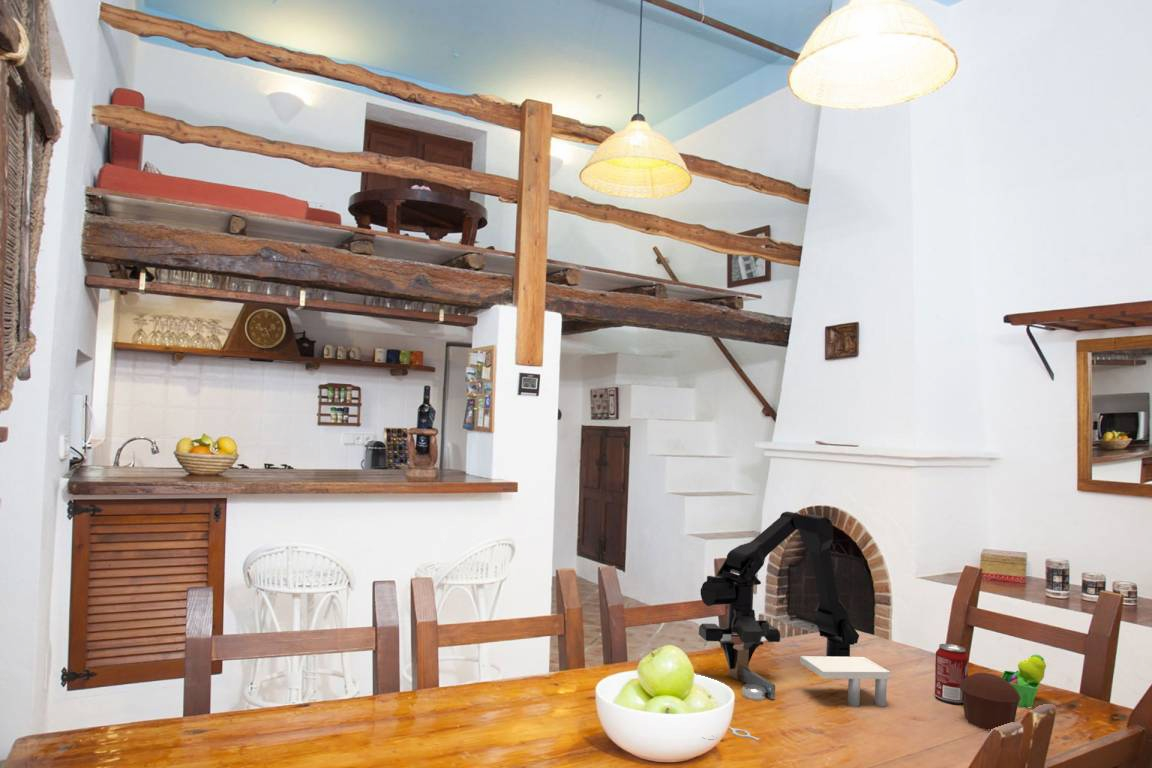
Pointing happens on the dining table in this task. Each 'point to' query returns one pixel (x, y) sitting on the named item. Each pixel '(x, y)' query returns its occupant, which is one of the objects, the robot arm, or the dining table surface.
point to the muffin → (989, 700)
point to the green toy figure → (1027, 678)
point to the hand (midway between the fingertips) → (737, 668)
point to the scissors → (742, 735)
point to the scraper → (748, 671)
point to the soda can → (950, 672)
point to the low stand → (850, 674)
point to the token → (753, 692)
